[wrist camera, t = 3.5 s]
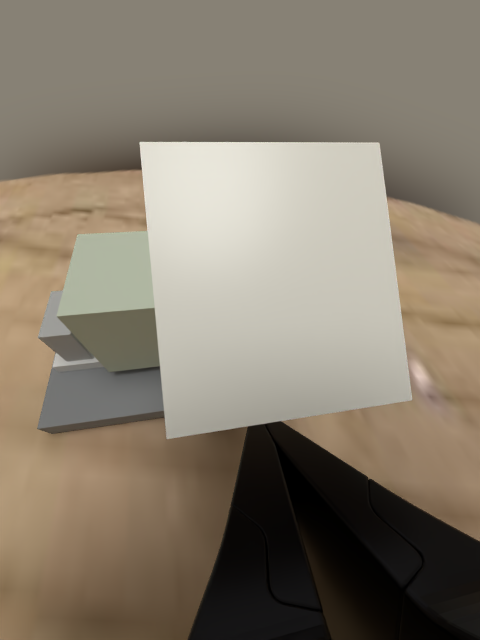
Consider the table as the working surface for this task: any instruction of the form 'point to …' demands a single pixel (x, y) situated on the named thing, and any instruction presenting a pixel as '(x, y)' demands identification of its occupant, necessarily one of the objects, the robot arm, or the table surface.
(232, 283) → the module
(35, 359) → the table surface
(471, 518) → the table surface
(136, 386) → the rail board
